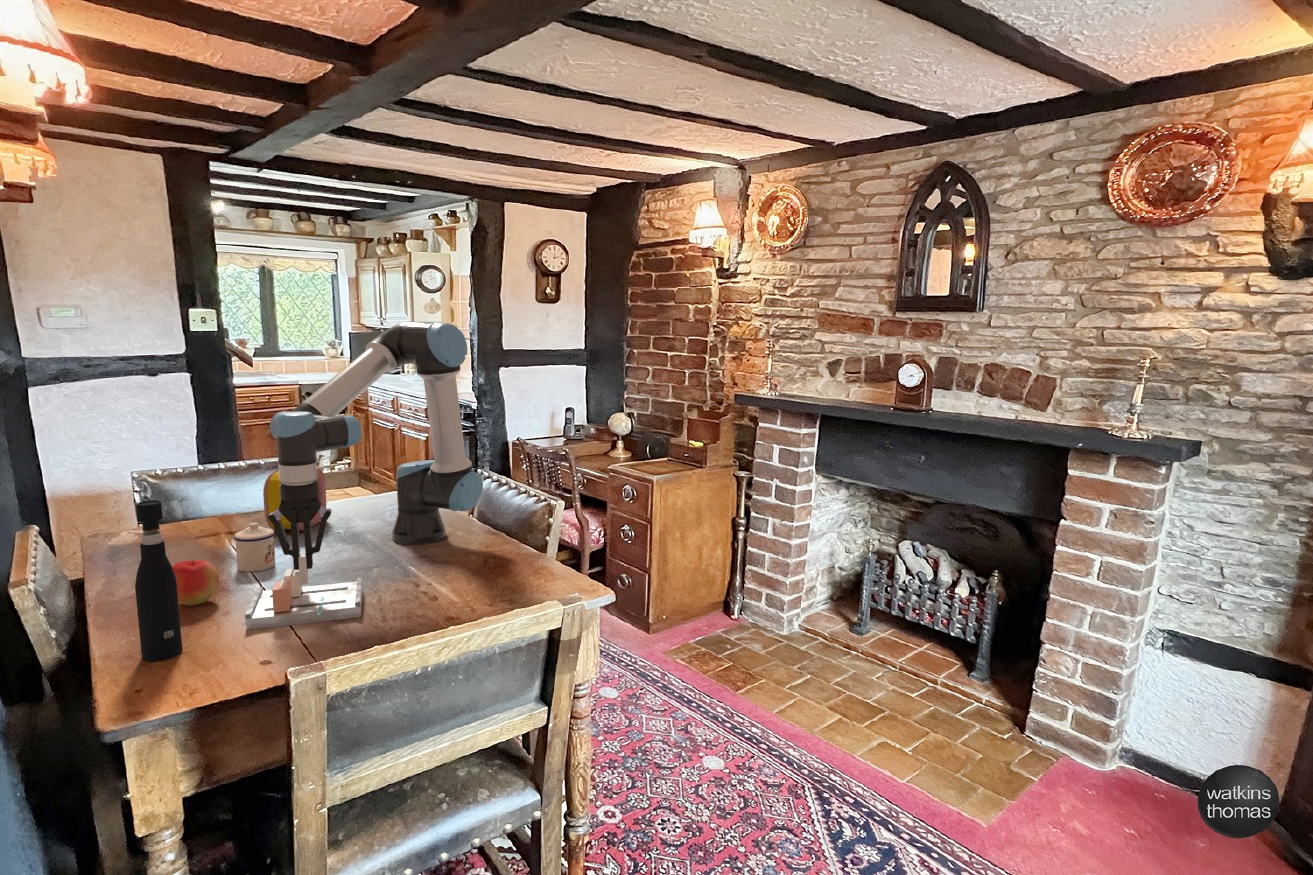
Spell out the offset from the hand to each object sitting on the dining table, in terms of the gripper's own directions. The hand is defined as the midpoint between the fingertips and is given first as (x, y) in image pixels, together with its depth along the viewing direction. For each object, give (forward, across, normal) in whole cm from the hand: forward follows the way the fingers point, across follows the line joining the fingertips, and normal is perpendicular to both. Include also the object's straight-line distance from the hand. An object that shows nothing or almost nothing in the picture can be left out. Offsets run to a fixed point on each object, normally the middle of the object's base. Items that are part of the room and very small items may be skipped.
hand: (304, 582), depth 159 cm
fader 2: (+2, +2, 0) cm, 3 cm away
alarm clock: (+5, +8, -66) cm, 67 cm away
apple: (+5, +23, -7) cm, 25 cm away
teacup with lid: (+5, +14, -31) cm, 34 cm away
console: (+5, -1, +4) cm, 6 cm away
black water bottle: (+5, +23, +19) cm, 30 cm away
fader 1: (+2, +3, +8) cm, 9 cm away
